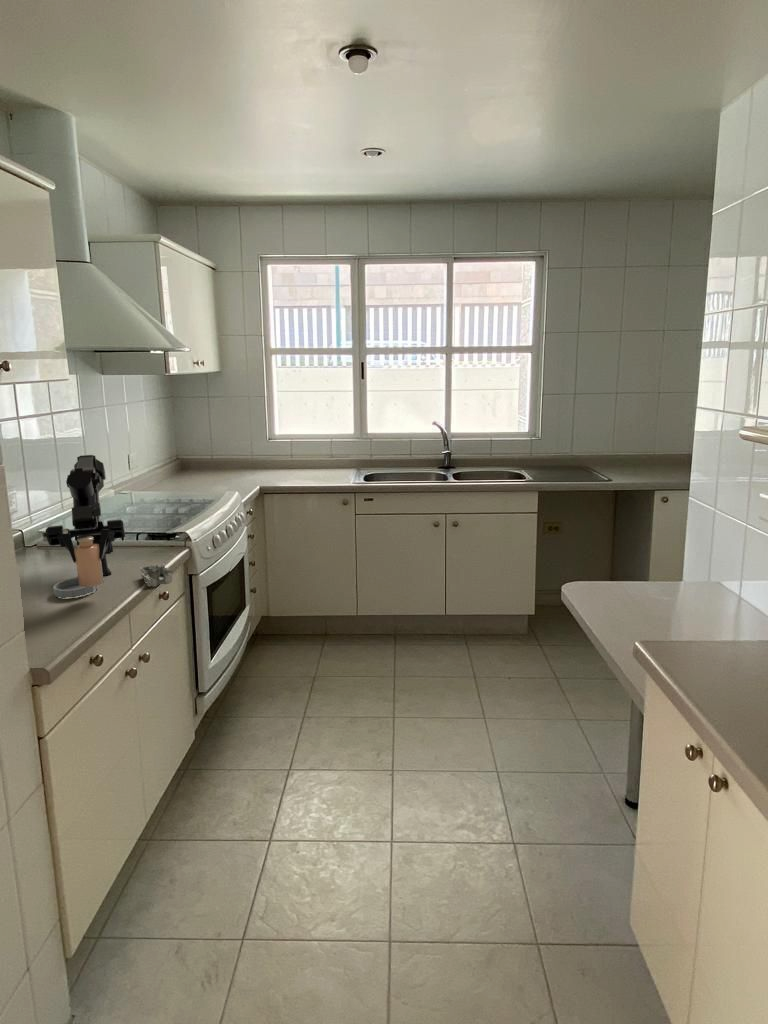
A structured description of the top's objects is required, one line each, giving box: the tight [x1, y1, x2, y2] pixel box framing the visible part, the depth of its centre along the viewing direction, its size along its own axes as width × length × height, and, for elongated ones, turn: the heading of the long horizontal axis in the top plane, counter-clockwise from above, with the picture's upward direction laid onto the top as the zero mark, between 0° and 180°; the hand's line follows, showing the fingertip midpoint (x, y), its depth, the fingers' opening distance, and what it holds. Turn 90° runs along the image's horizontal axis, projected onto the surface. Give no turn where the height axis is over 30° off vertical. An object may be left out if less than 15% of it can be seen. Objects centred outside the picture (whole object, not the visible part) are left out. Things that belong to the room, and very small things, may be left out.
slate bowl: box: [52, 576, 98, 598], centre depth 183 cm, size 10×10×2 cm
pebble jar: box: [73, 536, 105, 587], centre depth 175 cm, size 6×6×12 cm
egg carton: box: [139, 564, 173, 588], centre depth 191 cm, size 11×8×4 cm
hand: (87, 560), depth 174 cm, fingers closed on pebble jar, 6 cm apart
